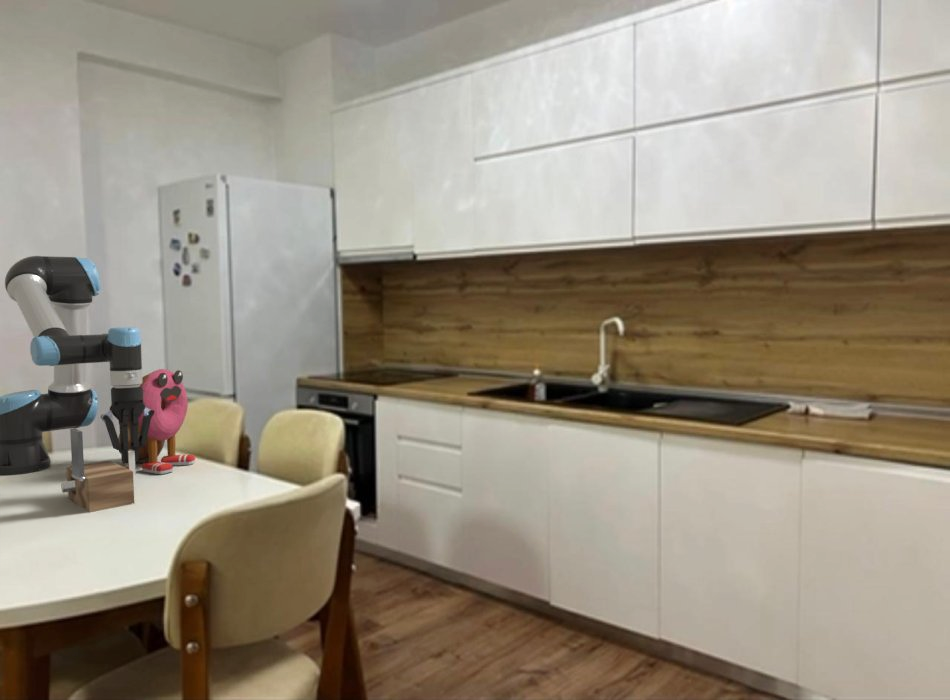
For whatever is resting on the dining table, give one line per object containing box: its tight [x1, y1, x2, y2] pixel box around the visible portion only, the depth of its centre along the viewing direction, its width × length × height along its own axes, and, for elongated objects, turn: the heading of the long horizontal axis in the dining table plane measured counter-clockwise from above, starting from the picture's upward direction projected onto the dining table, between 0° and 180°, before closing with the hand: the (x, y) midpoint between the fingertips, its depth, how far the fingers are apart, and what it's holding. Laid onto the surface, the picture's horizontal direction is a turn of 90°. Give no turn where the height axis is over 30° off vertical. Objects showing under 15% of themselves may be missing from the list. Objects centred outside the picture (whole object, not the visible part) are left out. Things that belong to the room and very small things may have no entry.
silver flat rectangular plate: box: [69, 428, 86, 482], centre depth 163 cm, size 7×1×12 cm, turn 45°
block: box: [66, 460, 135, 513], centre depth 171 cm, size 18×10×8 cm, turn 45°
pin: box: [60, 466, 130, 494], centre depth 174 cm, size 15×5×5 cm, turn 135°
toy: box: [138, 368, 196, 475], centre depth 204 cm, size 21×10×30 cm, turn 168°
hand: (130, 474), depth 180 cm, fingers closed
